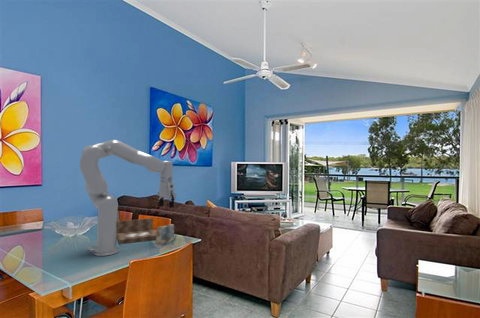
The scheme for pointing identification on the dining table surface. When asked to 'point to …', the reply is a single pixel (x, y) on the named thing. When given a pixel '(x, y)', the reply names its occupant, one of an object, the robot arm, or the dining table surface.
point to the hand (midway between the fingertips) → (166, 206)
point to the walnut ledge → (135, 231)
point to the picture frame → (165, 234)
